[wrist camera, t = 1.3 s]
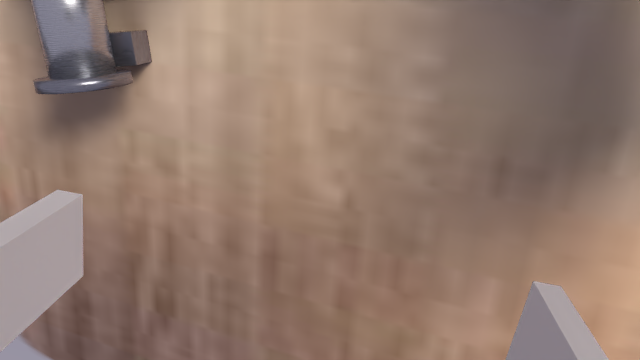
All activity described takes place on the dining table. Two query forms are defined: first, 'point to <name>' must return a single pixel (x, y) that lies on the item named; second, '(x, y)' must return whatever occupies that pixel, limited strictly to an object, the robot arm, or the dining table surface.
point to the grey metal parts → (84, 47)
